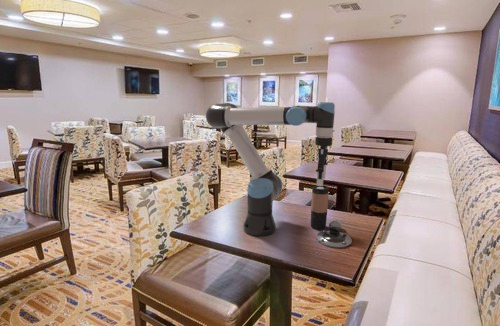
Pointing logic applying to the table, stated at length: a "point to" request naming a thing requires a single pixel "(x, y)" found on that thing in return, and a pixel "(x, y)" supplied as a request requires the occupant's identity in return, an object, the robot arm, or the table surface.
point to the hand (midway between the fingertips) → (321, 181)
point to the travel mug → (319, 207)
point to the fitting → (334, 236)
